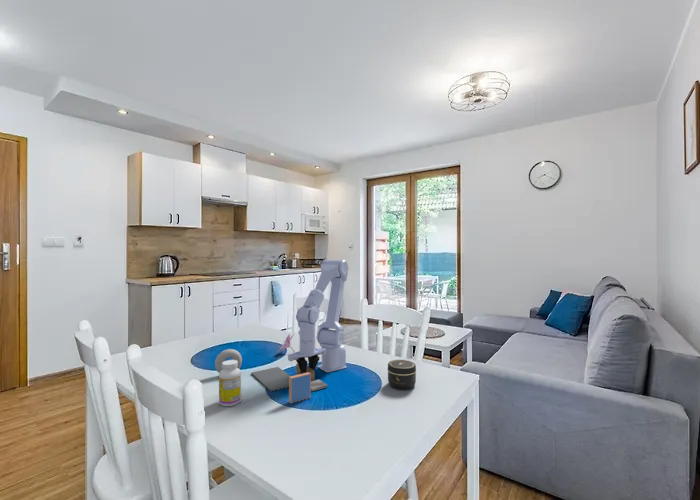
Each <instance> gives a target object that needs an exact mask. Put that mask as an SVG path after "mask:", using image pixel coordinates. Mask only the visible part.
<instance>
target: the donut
mask: <svg viewBox="0 0 700 500" xmlns="http://www.w3.org/2000/svg"><path fill="white" fill-rule="evenodd" d="M227 359H231V360H237V361H238V365H237V368H239V369H240V368H241V367H242V363H243V362H242V361H243V357H242V355H241V353H240V352H239V351H238V350H236V349H232V348H227V349H224V350H223V351H220V353H219V354H217V356H216V357H215V359H214V360H215V361H214V367H215V370H216V372H217V373H218V374H219V373H220V371H222V370H223V368H222V363H223V362H224V361H227Z"/></svg>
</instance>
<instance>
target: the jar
mask: <svg viewBox="0 0 700 500" xmlns="http://www.w3.org/2000/svg"><path fill="white" fill-rule="evenodd" d="M416 373H417V367H416V364H415V362H413V361H412V360H411V361H410V360H407V359H394V360H390V361H389V362H388V363H387V381H388V385H389V386H390V387H391V388H392V389H395V390H399V391H407V390H412V389H413V388H414V387H415V385H416V381H417V378H416V377H417V374H416Z"/></svg>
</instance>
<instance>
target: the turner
mask: <svg viewBox="0 0 700 500" xmlns="http://www.w3.org/2000/svg"><path fill="white" fill-rule="evenodd" d="M295 368H296V369H295V371H296V374H295V375H299V374H301V371H300V368H299V365H298V363H296V364H295ZM315 371H316V369H315V370H313V369H312V368H310V367H309V365H307V368H306V373H307V372H309V373H311V392H315V391H318V390H322V389H325V388H328V384H327V383H325V382H324V381H322V380H321V379H315V377H316V376H315Z"/></svg>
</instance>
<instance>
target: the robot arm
mask: <svg viewBox="0 0 700 500" xmlns="http://www.w3.org/2000/svg"><path fill="white" fill-rule="evenodd" d="M320 272H321V273H320V275H319V278H318V280H317V282H316V285H315V288H314V289H312V290H310V292H309V294H308V296H307V297H306V300H305V301H304V303H303V305H302V306H300V307H299V308H298V309H297V312H296V315H295V320H296V322H297V326H298V327H299V351H297V352H295V353H294V352H293V353H290V354H288V355H287V361H288V362H293V361H295V362H296V364H298V365H299V368H300V371H301V374H303V373H306V368H307V366H308V367H310V368H312V369H313V370H315V371H316V367H317V368H318V369H320V370H322V371H324V372H325V373H331V372H334V371H339V370H343V369H346V368H347V367H348V366H347V365H346V364H347V362H346V361H347V359H346V357H347V356H346V355H347V354H346V352H347V351H346V348H345V346H344V345H343V343H344V340H345V336H344V330H345V329H344V327H343V326H342V325H341V323H339V321H340V314H341V308H342V302H343V296H344V295H343V294H344V289H345V282H346V281H347V279H348V274H349V265H348V262H347V260H345V259H329V258H325V259H323V261H322V262H321V265H320ZM330 282H331V286H330V295H329V300H328V307H327V313H326V318H325V321H323V323H321V324H320V325H319V330H318V331H317V333H316V323H317V321H318V320H319V314H320V308H321V305H322V303H323V301H324V299H325V294H324V292H325V290H326V289H327V287H328V286H329V284H330ZM316 341H317V343H318V344H319V346H320V347H319V348H318V347H317V348H316ZM320 355H321V364H319V365H318V363H319V361H320ZM306 358H307V360H306Z"/></svg>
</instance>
